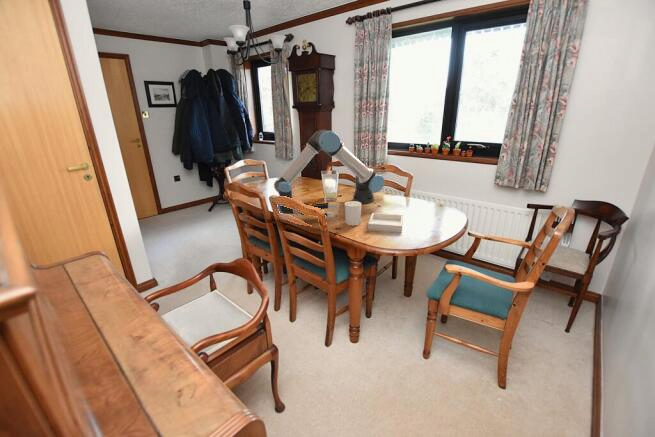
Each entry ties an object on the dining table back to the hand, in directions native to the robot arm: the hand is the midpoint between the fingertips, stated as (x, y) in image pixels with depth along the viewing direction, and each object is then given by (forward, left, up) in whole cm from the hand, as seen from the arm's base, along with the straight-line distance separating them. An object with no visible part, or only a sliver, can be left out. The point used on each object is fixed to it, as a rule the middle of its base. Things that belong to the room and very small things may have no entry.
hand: (335, 210), depth 180 cm
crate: (0, +29, -7) cm, 30 cm away
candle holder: (0, +10, -7) cm, 12 cm away
